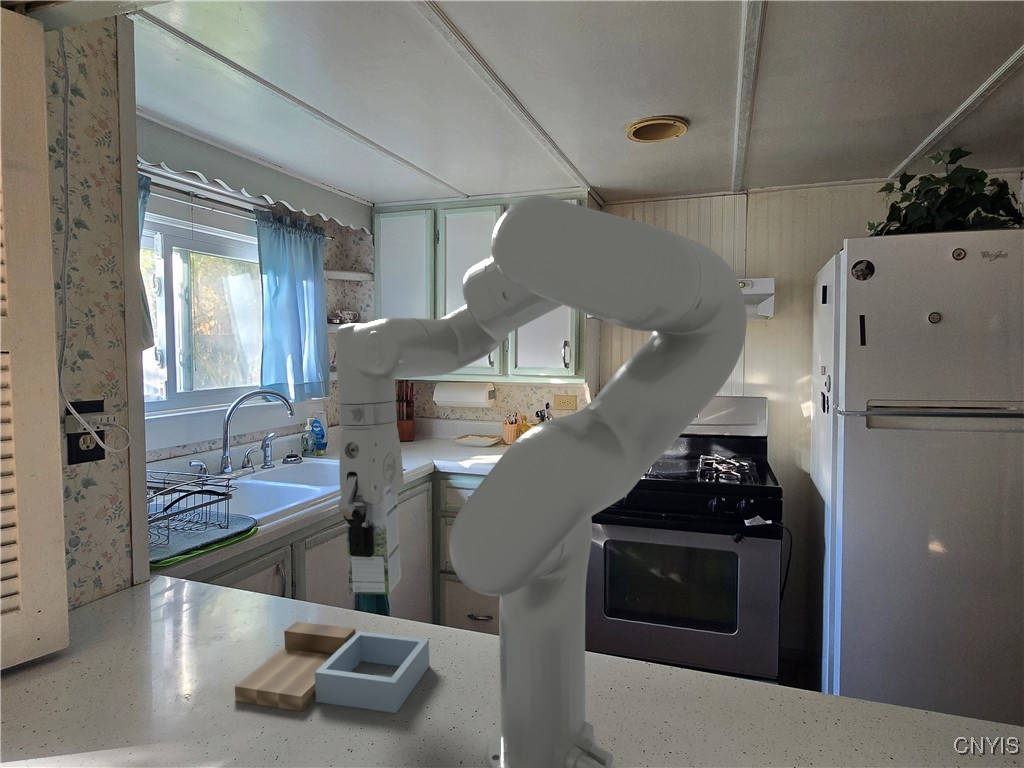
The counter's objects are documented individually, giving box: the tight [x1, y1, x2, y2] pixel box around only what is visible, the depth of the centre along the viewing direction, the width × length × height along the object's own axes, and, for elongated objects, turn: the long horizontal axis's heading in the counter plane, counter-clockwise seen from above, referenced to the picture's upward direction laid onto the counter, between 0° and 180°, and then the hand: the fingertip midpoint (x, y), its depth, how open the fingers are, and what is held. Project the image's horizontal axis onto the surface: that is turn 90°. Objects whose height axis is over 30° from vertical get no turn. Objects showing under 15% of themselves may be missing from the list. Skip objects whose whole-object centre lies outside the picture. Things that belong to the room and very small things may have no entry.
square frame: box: [315, 630, 430, 714], centre depth 82 cm, size 11×11×4 cm
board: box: [234, 647, 332, 713], centre depth 82 cm, size 10×10×2 cm
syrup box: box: [344, 485, 402, 595], centre depth 80 cm, size 6×6×14 cm
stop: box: [283, 621, 356, 655], centre depth 88 cm, size 10×3×4 cm, turn 76°
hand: (374, 546), depth 80 cm, fingers closed on syrup box, 6 cm apart
